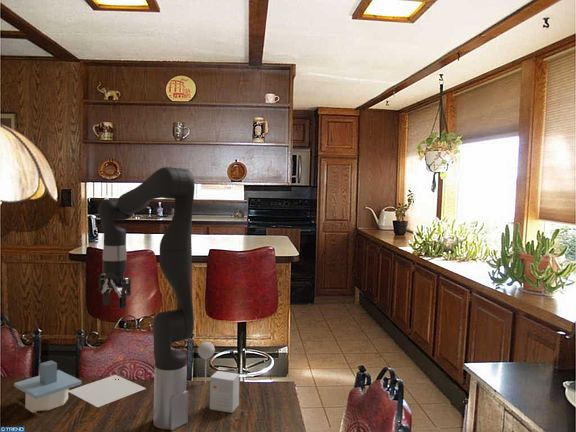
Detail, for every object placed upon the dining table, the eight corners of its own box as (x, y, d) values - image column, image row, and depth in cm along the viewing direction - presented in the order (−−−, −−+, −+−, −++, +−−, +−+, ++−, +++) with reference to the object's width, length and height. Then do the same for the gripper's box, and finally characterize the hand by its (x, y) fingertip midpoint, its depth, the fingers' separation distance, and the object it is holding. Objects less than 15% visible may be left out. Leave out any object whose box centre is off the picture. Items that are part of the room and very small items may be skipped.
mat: (146, 390, 153) (146, 388, 153) (97, 409, 139) (97, 407, 139) (115, 376, 164) (115, 374, 164) (67, 392, 149) (67, 390, 149)
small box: (239, 405, 145) (240, 373, 144) (232, 413, 139) (233, 380, 139) (216, 401, 147) (217, 370, 146) (208, 409, 141) (209, 376, 141)
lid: (81, 384, 142) (82, 362, 142) (35, 399, 131) (36, 375, 131) (58, 372, 151) (59, 352, 150) (14, 386, 139) (14, 364, 139)
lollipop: (215, 380, 163) (217, 340, 163) (211, 387, 158) (212, 345, 157) (199, 379, 164) (200, 338, 163) (194, 385, 158) (195, 344, 158)
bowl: (73, 402, 142) (73, 384, 142) (37, 415, 133) (37, 396, 133) (55, 393, 149) (56, 375, 148) (20, 404, 140) (20, 386, 139)
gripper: (137, 259, 150) (136, 307, 150) (111, 255, 158) (111, 301, 158) (118, 261, 144) (117, 311, 144) (92, 257, 151) (91, 305, 152)
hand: (114, 306), depth 151 cm, fingers open, 8 cm apart
